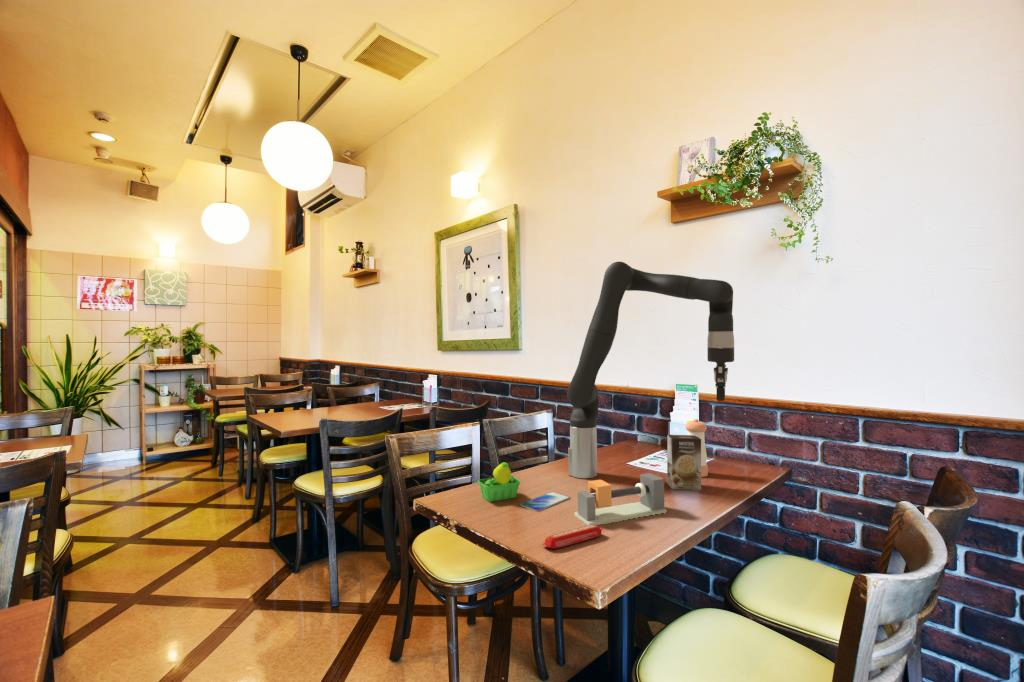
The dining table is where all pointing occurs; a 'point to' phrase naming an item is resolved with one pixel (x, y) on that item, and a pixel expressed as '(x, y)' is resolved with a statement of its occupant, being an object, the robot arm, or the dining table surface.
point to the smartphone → (544, 501)
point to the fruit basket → (499, 484)
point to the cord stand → (648, 505)
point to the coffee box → (684, 462)
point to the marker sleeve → (601, 493)
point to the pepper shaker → (698, 430)
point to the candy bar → (572, 536)
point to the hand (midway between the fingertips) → (720, 398)
